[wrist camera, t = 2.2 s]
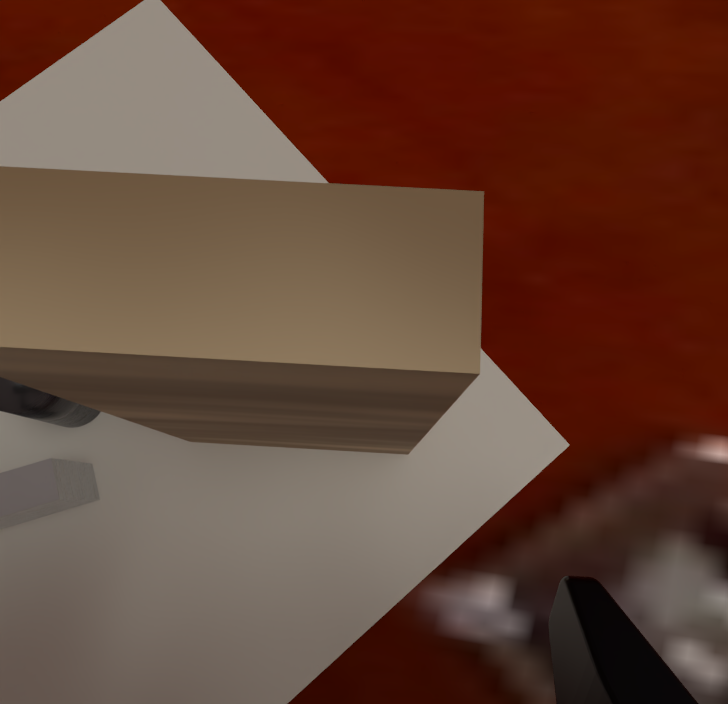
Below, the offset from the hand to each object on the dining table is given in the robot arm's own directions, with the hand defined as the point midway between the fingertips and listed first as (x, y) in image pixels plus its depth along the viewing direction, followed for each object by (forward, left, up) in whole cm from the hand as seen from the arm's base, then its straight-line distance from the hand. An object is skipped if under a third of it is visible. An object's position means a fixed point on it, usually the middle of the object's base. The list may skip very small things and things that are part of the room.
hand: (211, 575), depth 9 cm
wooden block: (+2, +2, -10) cm, 10 cm away
